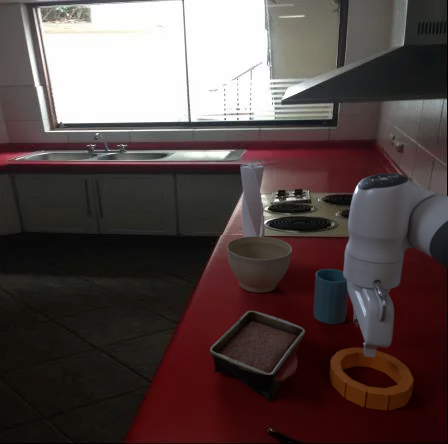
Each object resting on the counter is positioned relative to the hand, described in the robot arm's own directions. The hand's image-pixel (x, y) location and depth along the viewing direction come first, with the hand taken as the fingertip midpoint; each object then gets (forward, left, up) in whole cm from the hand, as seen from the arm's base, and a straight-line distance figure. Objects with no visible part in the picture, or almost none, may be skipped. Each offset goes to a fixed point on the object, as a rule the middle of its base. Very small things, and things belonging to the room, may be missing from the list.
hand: (363, 338), depth 76 cm
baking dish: (+19, +5, -6) cm, 20 cm away
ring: (0, +5, -5) cm, 8 cm away
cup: (+4, -17, -5) cm, 18 cm away
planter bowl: (+20, -30, -6) cm, 36 cm away
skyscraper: (+23, -61, -6) cm, 65 cm away
